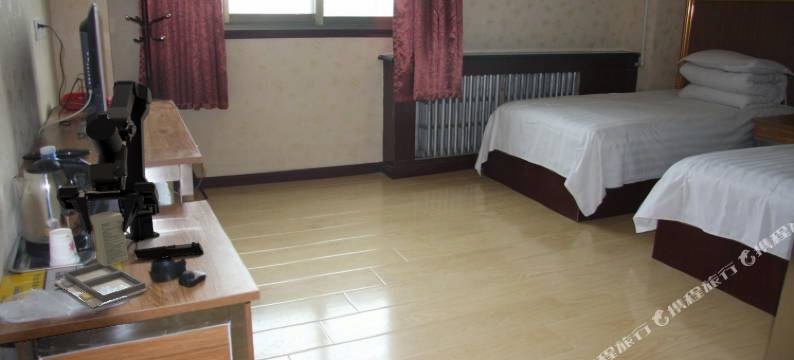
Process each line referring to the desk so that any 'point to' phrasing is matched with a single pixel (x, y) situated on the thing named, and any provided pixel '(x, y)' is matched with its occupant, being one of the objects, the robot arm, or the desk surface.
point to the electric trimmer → (169, 251)
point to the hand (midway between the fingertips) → (106, 232)
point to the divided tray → (100, 283)
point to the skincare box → (109, 237)
